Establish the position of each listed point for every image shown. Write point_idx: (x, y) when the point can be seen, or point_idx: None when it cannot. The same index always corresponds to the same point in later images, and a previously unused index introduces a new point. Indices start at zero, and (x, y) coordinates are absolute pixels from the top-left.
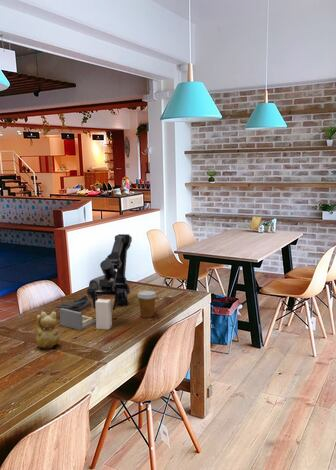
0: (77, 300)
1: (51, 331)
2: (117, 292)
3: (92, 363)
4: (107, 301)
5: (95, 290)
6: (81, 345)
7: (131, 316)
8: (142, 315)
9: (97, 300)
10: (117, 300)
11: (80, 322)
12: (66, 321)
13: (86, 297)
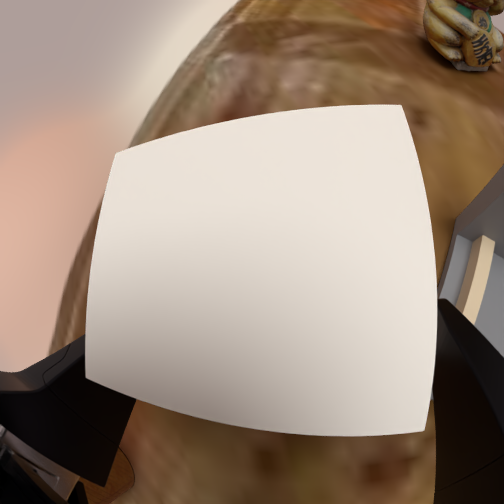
0: None
1: None
2: (11, 491)
3: (248, 13)
4: (119, 203)
5: None
6: (341, 61)
7: (174, 475)
8: (117, 453)
9: (411, 234)
10: (46, 359)
11: (477, 198)
12: None
13: None
